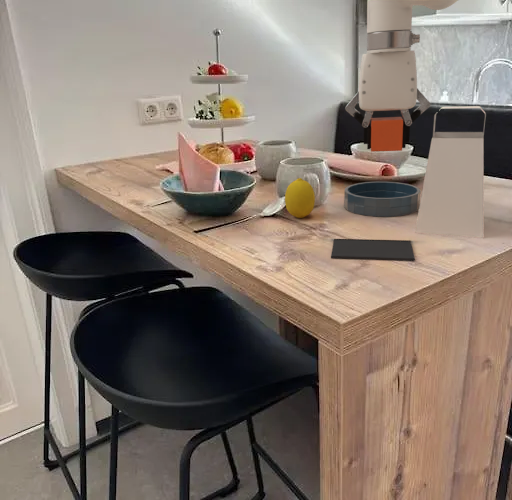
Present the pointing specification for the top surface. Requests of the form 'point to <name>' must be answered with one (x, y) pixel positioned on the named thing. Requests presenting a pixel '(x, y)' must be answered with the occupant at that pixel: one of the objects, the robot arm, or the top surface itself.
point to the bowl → (382, 199)
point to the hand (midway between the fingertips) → (385, 146)
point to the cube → (386, 134)
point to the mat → (372, 249)
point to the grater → (454, 185)
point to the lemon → (299, 198)
